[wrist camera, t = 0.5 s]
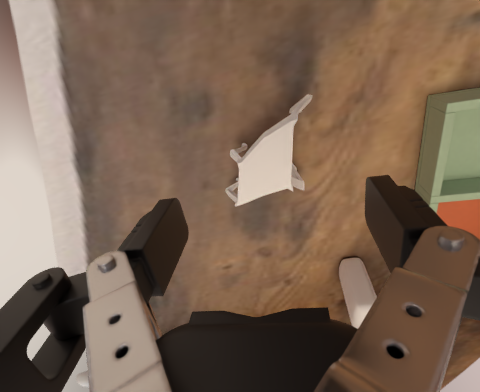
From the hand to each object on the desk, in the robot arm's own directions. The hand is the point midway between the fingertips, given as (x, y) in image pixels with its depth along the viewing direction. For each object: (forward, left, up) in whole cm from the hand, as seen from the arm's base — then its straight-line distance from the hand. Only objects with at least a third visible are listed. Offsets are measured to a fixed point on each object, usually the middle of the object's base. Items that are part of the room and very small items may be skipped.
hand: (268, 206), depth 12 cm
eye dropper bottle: (+23, +8, -18) cm, 30 cm away
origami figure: (+4, 0, -18) cm, 19 cm away
